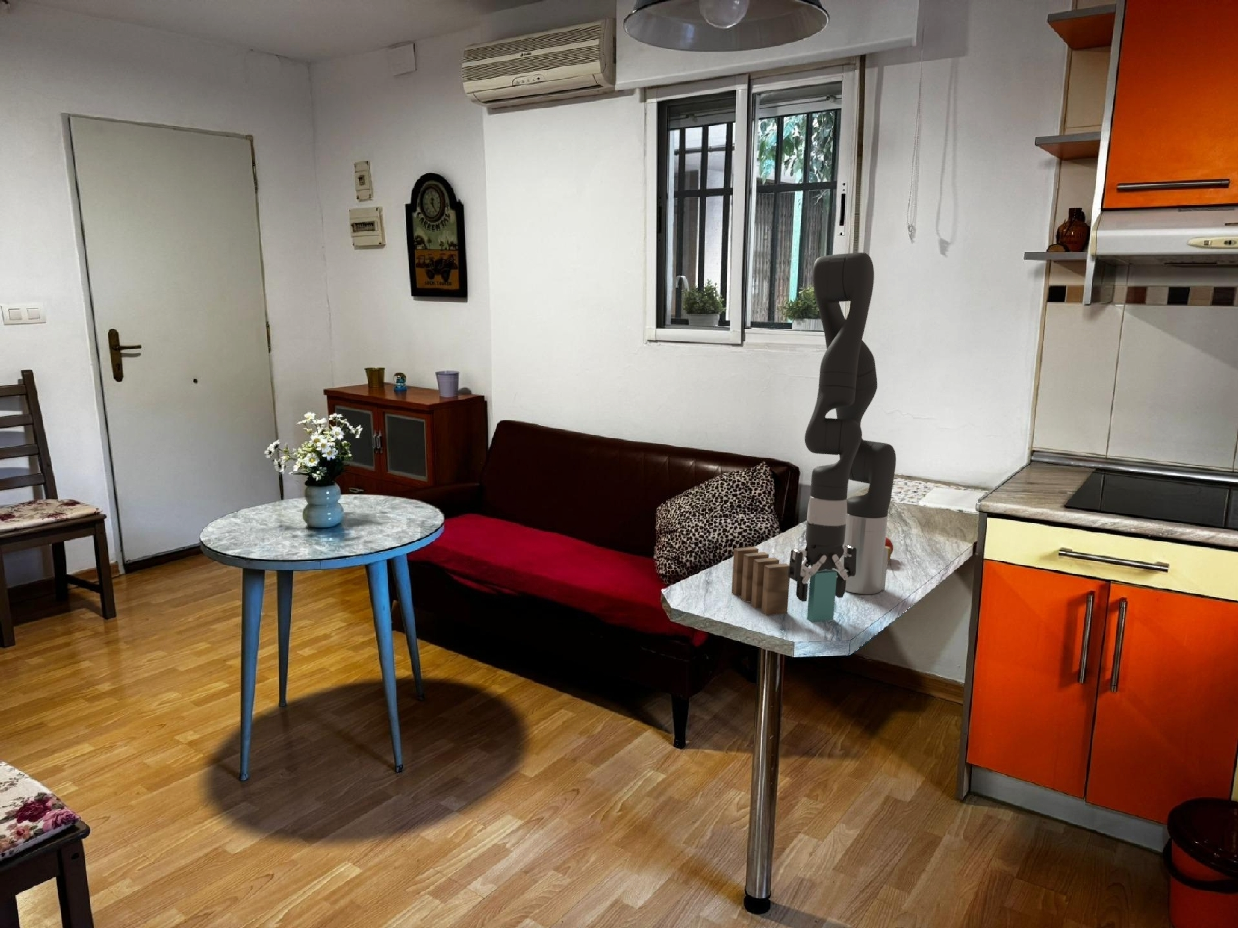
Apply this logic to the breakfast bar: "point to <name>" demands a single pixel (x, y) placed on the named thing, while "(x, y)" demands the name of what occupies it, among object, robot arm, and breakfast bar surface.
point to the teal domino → (822, 595)
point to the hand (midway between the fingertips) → (820, 598)
